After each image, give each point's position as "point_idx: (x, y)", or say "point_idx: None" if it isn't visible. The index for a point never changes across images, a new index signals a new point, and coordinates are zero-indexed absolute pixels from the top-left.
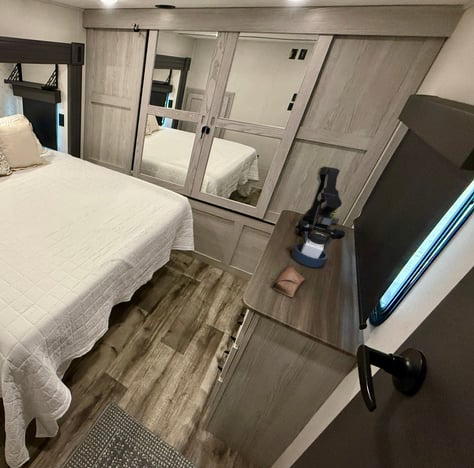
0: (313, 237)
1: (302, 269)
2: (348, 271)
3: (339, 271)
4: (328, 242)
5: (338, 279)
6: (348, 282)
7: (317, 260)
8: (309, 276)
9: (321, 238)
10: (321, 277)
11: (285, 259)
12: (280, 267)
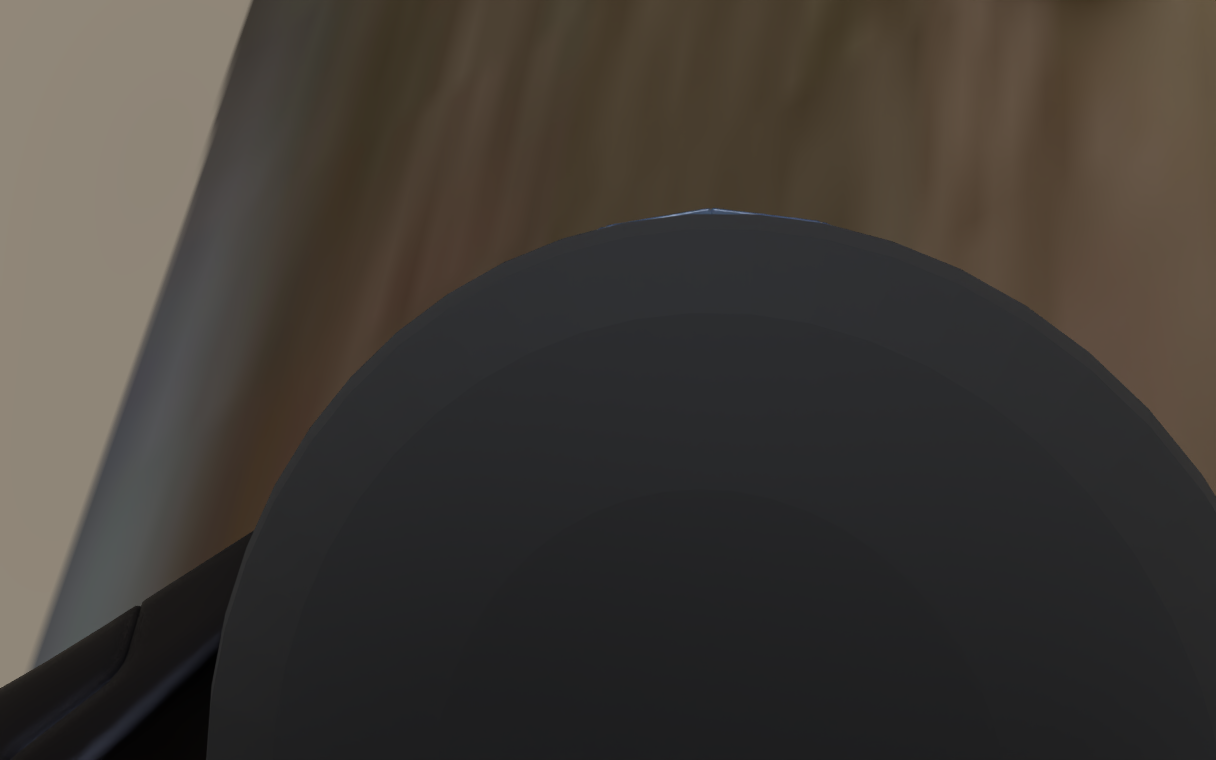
0: (1109, 393)
1: (811, 151)
2: (105, 490)
3: (241, 413)
4: (210, 594)
5: (326, 170)
6: (215, 168)
7: None
8: (725, 14)
9: (624, 281)
10: (553, 87)
11: (1100, 327)
12: (1178, 6)
